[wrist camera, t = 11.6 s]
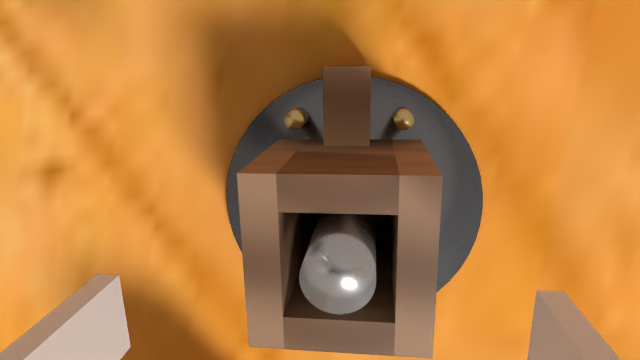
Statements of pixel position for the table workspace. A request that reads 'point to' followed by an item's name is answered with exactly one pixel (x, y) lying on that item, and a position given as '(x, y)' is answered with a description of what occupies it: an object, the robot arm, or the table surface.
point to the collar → (342, 198)
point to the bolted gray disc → (368, 229)
